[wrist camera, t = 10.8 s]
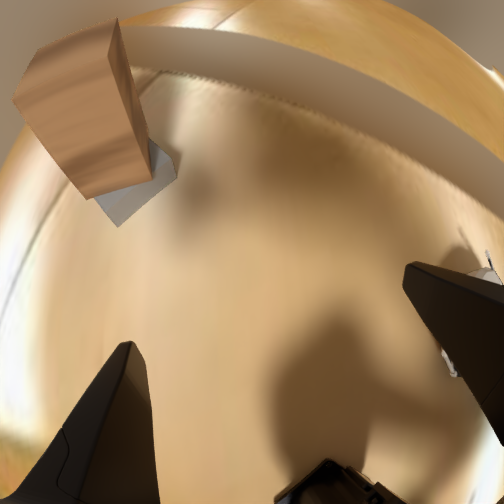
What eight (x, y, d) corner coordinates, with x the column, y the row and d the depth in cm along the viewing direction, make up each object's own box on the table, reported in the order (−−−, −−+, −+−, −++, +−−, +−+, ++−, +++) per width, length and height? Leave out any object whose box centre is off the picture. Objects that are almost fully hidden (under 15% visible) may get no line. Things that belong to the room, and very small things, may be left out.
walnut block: (152, 180, 21) (107, 56, 10) (86, 199, 20) (11, 99, 9) (147, 128, 23) (117, 17, 12) (88, 146, 22) (37, 49, 11)
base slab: (117, 227, 23) (104, 212, 20) (84, 182, 24) (71, 166, 21) (176, 177, 25) (171, 158, 22) (137, 140, 26) (129, 120, 23)
